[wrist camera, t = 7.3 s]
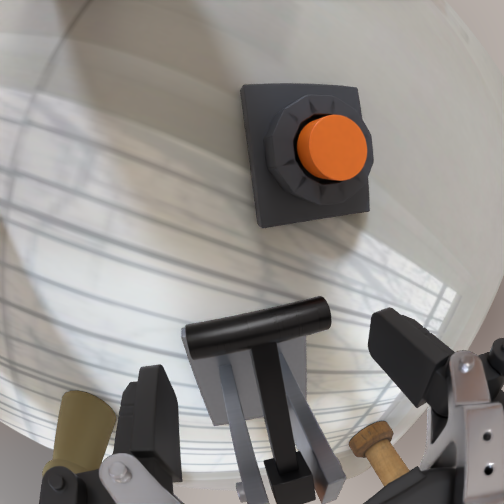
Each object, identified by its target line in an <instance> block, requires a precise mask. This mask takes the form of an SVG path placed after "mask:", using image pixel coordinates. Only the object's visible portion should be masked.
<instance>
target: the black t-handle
mask: <svg viewBox="0 0 504 504" xmlns="http://www.w3.org/2000/svg"><path fill="white" fill-rule="evenodd" d="M330 326H331V313H330V309H329V306H328V304H327V302H326V300H325V299H324V298H323V297H322V296H318V297H314V298H310V299H306V300H302V301H298V302H294V303H289V304H285V305H281V306H277V307H272V308H268V309H263V310H259V311H254V312H250V313H245V314H240V315H235V316H230V317H225V318H220V319H215V320H210V321H204V322H199V323H193V324H188V325H186V326H185V335H186V341H187V346H188V350H189V353H190V356H191V358H192V360H194V361H195V360H200V359H206V358H212V357H217V356H222V355H227V354H232V353H237V352H242V351H247V350H249V351H250V355H251V360H252V365H253V370H254V374H255V379H256V383H257V388H258V393H259V397H260V402H261V406H262V410H263V415H264V419H265V424H266V428H267V432H268V437H269V441H270V445H271V449H272V453H273V458H272V459H268V460H264V465H265V468H266V472H267V475H268V479H269V482H270V486H271V489H272V492H273V495H274V498H275V500H276V503H277V504H304V503H307V502H310V501H313V500H315V499H316V498H315V489H314V480H313V474H312V472H311V470H310V468H309V467H308V465H307V463H306V461H305V459H304V458H303V456H302V454H301V452H300V451H298V452H296V449H295V443H294V438H293V432H292V426H291V420H290V415H289V409H288V403H287V397H286V392H285V386H284V381H283V375H282V369H281V364H280V358H279V353H278V347H277V343H281V342H285V341H288V340H292V339H296V338H300V337H303V336H307V335H310V334H314V333H317V332H321V331H324V330H328V329H329V328H330Z"/></svg>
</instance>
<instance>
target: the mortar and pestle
mask: <svg viewBox="0 0 504 504" xmlns="http://www.w3.org/2000/svg"><path fill="white" fill-rule="evenodd" d="M392 436H393V431H392V429H391V428H390V426H389V425H388V423H387V422H385V421H379V422H376V423H374V424H371V425H369V426H368V427H366V428H364V429H362V430H361V431H360V432H358V433H357V434H356V435H355V436H354V437H353V438H352V439H351V440H350V442H349V446H350V448H351V449H352V451H353V453H354V455H355V456H356V457H363V458H365V457H367V459H368V461H369V462H370V464H371V465H372V467H373V468H374V470H375V472H376V474H377V475H378V477H379V479H380V480H381V482H382V483H383V485H384V487H385V486H386V485H387V484H388V483H390V482H392V481H393V480H395V479H397V478H399V477H400V476H402V475H404V474H405V473H407V472H409V469H408V468H407V466H406V465H405V463H404V462H403V461H402V459H401V458H400V456H399V455H398V454H397V452H396V450H395V449H394V447H393V446H392V444H391V443H390V441H391V439H392Z"/></svg>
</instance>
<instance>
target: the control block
mask: <svg viewBox="0 0 504 504" xmlns="http://www.w3.org/2000/svg"><path fill="white" fill-rule="evenodd" d="M240 92H241V99H242V107H243V114H244V121H245V129H246V136H247V144H248V152H249V159H250V167H251V175H252V183H253V191H254V198H255V206H256V214H257V222H258V225H259V226H260V227H261V228H267V227H273V226H279V225H285V224H291V223H297V222H304V221H310V220H316V219H322V218H329V217H335V216H342V215H348V214H355V213H362V212H368V211H370V209H369V185H368V175H369V173H370V170H371V167H372V165H373V161H374V159H373V148H372V138H371V134H370V132H369V130H368V128H367V127H366V125H365V123H364V122H363V120H362V114H361V107H360V101H359V95H358V89H357V87H348V86H337V85H323V84H293V83H280V84H250V85H243V87H242V88H241V90H240ZM328 115H341V116H345V117H347V118H349V119H351V120H352V121H353V122H355V123H356V124H357V125H358V127H359V128H360V129H361V131H362V132H363V134H364V137H365V140H366V144H367V158H366V161H365V164H364V166H363V168H362V170H361V171H360V172H359V173H358V174H357V175H356V176H354V177H353V178H351V179H348V180H344V181H337V180H329V179H321V178H318V177H315V176H313V175H312V174H310V173H309V172H308V171H307V170H306V169H305V168H304V167H303V165H302V163H301V162H300V159H299V156H298V152H297V141H298V137H299V134H300V132H301V130H302V129H303V128H304V127H305V126H306V125H307V124H308V123H310V122H311V121H314V120H316V119H319V118H322V117H325V116H328Z"/></svg>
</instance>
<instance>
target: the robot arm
mask: <svg viewBox="0 0 504 504" xmlns="http://www.w3.org/2000/svg"><path fill="white" fill-rule="evenodd" d="M368 349H369V352H370V355H371V356H372V358H373V359H374V360H375V361H376V362H377V363H378V364H379V366H380V367H381V368H382V369H383V370H384V371H385V372H386V373H387V375H388V376H389V377H390V378H391V379H392V380H393V381H394V383H395V384H396V385H397V386H398V387H399V388H400V389H401V391H402V392H403V393H404V394H405V395H406V396H407V398H408V399H409V400H410V401H411V402H412V403H413V404H414V406H415V407H416V408H418V407H420V406H421V405H423V404H425V403H426V402H427V403H428V404H429V407H428V410H427V439H426V450H425V453H424V456H423V458H422V461H421V464H420V468H419V467H418V466H417V467H415V468H414V469H412V470H411V471H409V472H407V473H405V474H404V475H402V476H400V477H399V478H397V479H395V480H393V481H392V482H390V483H388V484H387V485H386V486H385V487H384V488H382V489H381V490H380V491H379V492H378V493H376V494H375V495H374V496H373V497H371V498H370V499H369V500H368V501H366V502H365V503H363V504H504V392H503V391H502V390H501V388H502V387H503V385H504V338H500V339H497V340H496V341H494V343H493V346H492V348H491V350H490V352H487V353H485V354H481V355H479V356H477V355H476V354H475V353H473V352H470V351H466V350H461V351H457V352H454V351H453V350H451V349H450V348H449V347H448V346H447V345H445V344H444V343H443V342H442V341H440V340H439V339H438V338H437V337H436V336H434V335H433V334H432V333H429V331H428V330H427V329H426V328H423V326H422V325H421V324H419V323H418V322H417V321H415V320H414V319H412V318H409V317H407V316H404V315H400V314H399V313H398V312H397V311H395V310H394V309H393V308H390V307H389V308H386V309H383V310H381V311H378V312H375V313H373V315H372V317H371V324H370V332H369V339H368ZM119 415H120V416H119V417H118V423H117V430H116V437H115V444H114V451H113V454H112V455H111V456H109V457H107V458H106V459H105V460H104V461H103V462H102V463H101V465H100V468H99V469H96V470H91V471H87V472H82V473H77V474H75V473H73V472H72V471H71V470H70V469H68V468H66V467H64V466H54V467H52V468H50V469H49V470H47V471H46V473H45V474H44V476H43V479H42V485H41V492H40V501H39V504H184V503H183V502H182V501H181V500H180V499H179V498H178V497H177V496H176V495H174V493H173V482H182V471H181V457H180V440H179V416H178V402H177V398H176V395H175V392H174V390H173V388H172V386H171V383H170V381H169V379H168V377H167V375H166V372H165V370H164V368H163V366H162V365H153V366H145V367H141V368H140V371H139V377H138V382H130V383H129V385H128V386H127V388H126V389H125V391H124V392H123V395H122V400H121V407H120V411H119Z"/></svg>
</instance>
